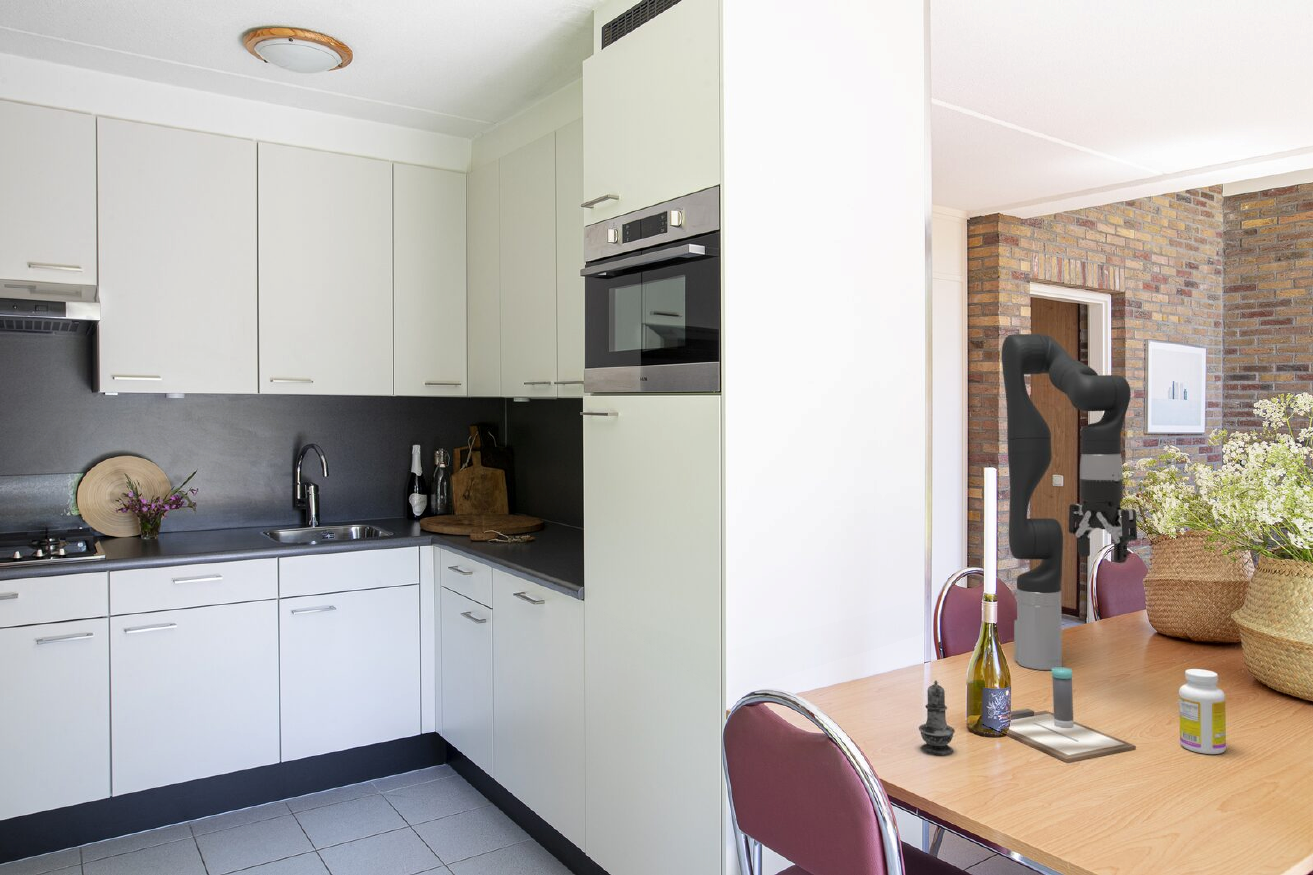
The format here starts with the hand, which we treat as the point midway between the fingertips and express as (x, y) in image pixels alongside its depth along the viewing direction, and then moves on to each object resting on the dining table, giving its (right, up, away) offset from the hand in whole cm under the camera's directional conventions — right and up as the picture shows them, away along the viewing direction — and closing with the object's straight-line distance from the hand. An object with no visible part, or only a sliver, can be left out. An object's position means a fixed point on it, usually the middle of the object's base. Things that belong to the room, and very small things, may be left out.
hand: (1101, 559), depth 175 cm
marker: (-14, -28, -15) cm, 34 cm away
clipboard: (-17, -29, -18) cm, 38 cm away
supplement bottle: (+5, -29, -25) cm, 38 cm away
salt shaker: (-40, -30, -23) cm, 55 cm away
